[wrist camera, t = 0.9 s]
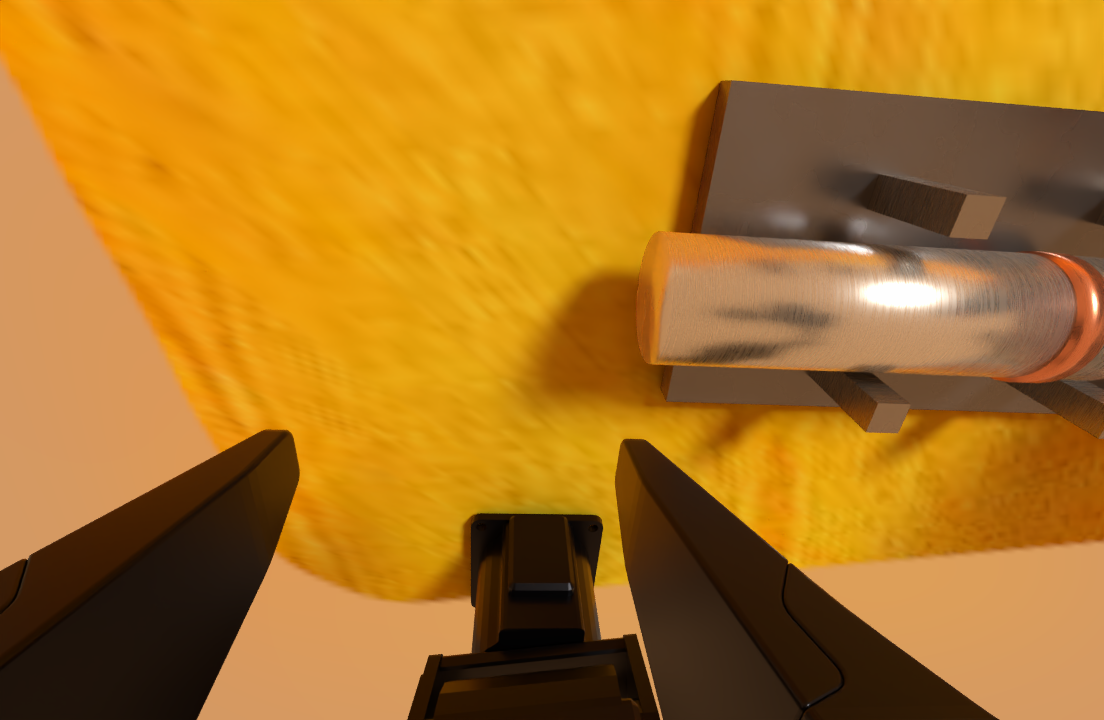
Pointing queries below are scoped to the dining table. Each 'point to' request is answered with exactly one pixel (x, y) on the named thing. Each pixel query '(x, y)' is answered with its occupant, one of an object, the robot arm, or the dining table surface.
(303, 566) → the dining table surface
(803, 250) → the tube
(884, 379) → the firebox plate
